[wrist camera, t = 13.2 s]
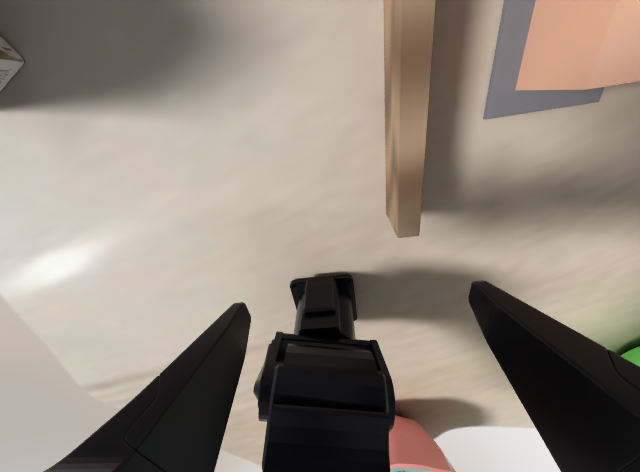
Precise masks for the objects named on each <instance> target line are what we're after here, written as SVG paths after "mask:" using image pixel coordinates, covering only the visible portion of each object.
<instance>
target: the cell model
mask: <svg viewBox="0 0 640 472" xmlns="http://www.w3.org/2000/svg"><path fill="white" fill-rule="evenodd" d="M389 457H390V472H456V471H455V470H454V468H453V467H452V466H451V464H450V462H449V461H448V459H447V458H446V456H445V455H444V453H443V452H442V450H441V449H440V447H439V446H438V445H437V444H436V442H435V441H434V440H433V439H432V438H431V437H430V436H429V434H428V433H427V432H426V431H425V430H424V429H423V427H422V426H421V425H420V424H419V423H418V422H416V421H414V420H411V419H408V418H404V417H401V416H398V415H395V421H394V426H393V429H392V430H391V431H389Z"/></svg>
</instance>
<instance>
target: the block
mask: <svg viewBox="0 0 640 472" xmlns="http://www.w3.org/2000/svg"><path fill="white" fill-rule="evenodd" d="M637 81H640V0H536V1H535V6H534V10H533V14H532V19H531V23H530V28H529V32H528V36H527V41H526V45H525V49H524V54H523V58H522V63H521V67H520V71H519V76H518V80H517V85H516V89H515V90H587V89H593V88H600V87H606V86H612V85H618V84H625V83H631V82H637Z"/></svg>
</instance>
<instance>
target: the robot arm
mask: <svg viewBox="0 0 640 472" xmlns="http://www.w3.org/2000/svg"><path fill="white" fill-rule="evenodd" d="M347 280H349V281H347ZM294 285H296V286H294ZM290 288H291V292H292V295H293V299H294V302H295V306H296V309H297V315H296V322H295V329H294V334H286V333H283V332H276V336H275V339H274V340H272V343H271V344H269V347H268V351H267V355H266V359H265V362H264V365H263V367H262V369H261V371H260V374H259V376H258V378H257V380H256V382H255V385H254V394H255V396H256V397H257V399H258V408H259V421H267V428H266V436H265V444H264V452H263V460H262V470H263V472H390V457H389V431H391V430H392V429H393V426H394V421H395V395H394V388H393V383H392V380H391V377H390V374H389V371H388V369H387V366H386V363H385V361H384V358H383V356H382V353H381V350H380V348H379V345H378V343H377V340H370V341H367V340H356V338H355V329H354V321H355V320H356V319H357V313H356V304H355V295H354V285H353V278H352V276H350V275H342V276H332V277H322V278H312V279H301V280H293V281H291V283H290ZM469 303H470V306H471V308H472V310H473V312H474V315H475V317H476V319H477V321H478V324H479V326H480V328H481V330H482V333H483V335H484V337H485V339H486V341H487V343H488V345H489V347H490V349H491V350H492V352H493V354H494V356H495V357H496V359H497V361H498V363H499V364H500V366H501V368H502V370H503V371H504V373H505V375H506V376H507V378H508V380H509V382H510V383H511V385H512V387H513V389H514V390H515V392H516V394H517V396H518V397H519V399H520V401H521V403H522V404H523V406H524V408H525V410H526V411H527V413H528V415H529V417H530V418H531V420H532V422H533V423H534V425H535V427H536V429H537V430H538V432H539V434H540V436H541V437H542V439H543V440H544V442H545V444H546V446H547V448H548V449H549V451H550V453H551V455H552V457H553V458H554V460H555V462H556V463H557V465H558V467H559V469H560V470H561V472H640V366H638V365H636V364H634V363H632V362H630V361H629V360H627V359H625V358H623V357H621V356H619V355H618V354H616V353H614V352H612V351H611V350H607V349H606V348H605V347H603V346H601V345H600V344H598V343H596V342H594V341H592V340H591V339H589V338H587V337H585V336H583V335H582V334H580V333H578V332H576V331H574V330H573V329H571V328H569V327H567V326H566V325H564V324H562V323H560V322H558V321H557V320H555V319H553V318H551V317H549V316H548V315H546V314H544V313H542V312H540V311H539V310H537V309H535V308H533V307H531V306H530V305H528V304H526V303H524V302H522V301H521V300H519V299H517V298H515V297H513V296H512V295H510V294H508V293H506V292H504V291H503V290H501V289H499V288H497V287H496V286H494V285H492V284H490V283H488V282H486V281H475V282H473V283H472V284H471V289H470V293H469ZM250 323H251V316H250V313H249V311H248V309H247V307H246V305H245V303H243V302H241V303H234V304H233V305H232V306H231V307H230V308H228V309H227V310H226V311H225V312H224V313H223V314H222V315H221V316H220V317H219V318H218V319H217V320H216V321H215V322H214V323H213V324H212V325H211V326H210V327H209V328H208V329H207V330H205V331H204V332H203V333H202V334H201V335H200V336H199V337H198V338H197V339H196V340H195V341H194V342H193V343H192V344H191V345H190V346H189V347H188V348H187V349H186V350H185V351H183V352H182V353H181V354H180V355H179V356H178V357H177V358H176V359H175V360H174V361H173V362H172V363H171V364H170V365H169V366H168V367H167V368H166V369H165V370H164V371H163V372H161V373H160V375H159V376H157V377H156V378H155V379H154V380H153V381H152V382H151V383H150V384H149V385H148V386H147V387H146V388H145V389H143V390H142V391H141V392H140V393H139V394H138V395H137V396H136V397H135V398H134V399H133V400H131V401H130V402H129V403H128V404H127V405H126V406H125V407H123V408H122V409H121V410H120V411H119V412H118V413H117V414H116V415H114V416H113V417H112V418H111V419H110V420H108V421H107V422H106V423H105V424H104V425H103V426H101V427H100V428H99V429H98V430H97V431H96V432H95V433H93V434H92V435H91V436H90V437H89V438H87V439H86V440H85V441H84V442H83V443H82V444H81V445H79V446H78V447H77V448H76V449H74V450H73V451H72V452H71V453H70V454H69V455H67V456H66V457H65V458H63V459H62V460H61V461H59V462H58V463H56V464H55V465H54V466H52V467H51V468H49V469H47V470H45V471H44V472H214V470H215V466H216V462H217V459H218V455H219V451H220V448H221V444H222V440H223V436H224V433H225V429H226V425H227V422H228V418H229V414H230V411H231V407H232V403H233V400H234V396H235V392H236V388H237V385H238V381H239V377H240V374H241V370H242V366H243V363H244V358H245V354H246V348H247V342H248V335H249V329H250Z"/></svg>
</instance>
